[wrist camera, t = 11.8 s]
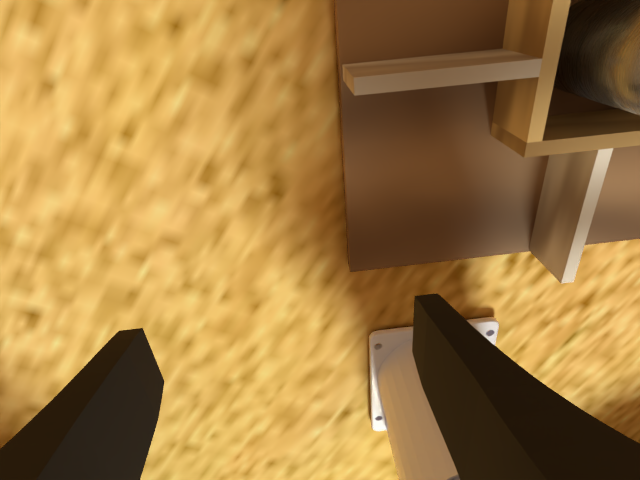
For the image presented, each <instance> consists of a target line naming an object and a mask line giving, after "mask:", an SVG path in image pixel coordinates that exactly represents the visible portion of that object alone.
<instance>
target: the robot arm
mask: <svg viewBox="0 0 640 480" xmlns="http://www.w3.org/2000/svg"><path fill="white" fill-rule="evenodd" d="M498 328H499V323H498V321H497V320H496V319H495V318H494V317H486V318H478V319H470V320H465V319H464V318H463V317H462V316H461V315H460V314H459V313H458V312H457V311H456V310H455V309H454V308H453V307H452V306H451V305H449V304H448V303H447V302H446V301H445V300H444V299H443V298H442V297H441V296H440V295H439V294H429V295H420V296H415V302H414V322H413V326H411V327H403V328H395V329H386V330H378V331H374V332H372V333H371V334H370V336H369V356H370V396H371V425H372V429H373V430H375V431H383V430H387V432H388V437H389V441H390V445H391V449H392V453H393V457H394V461H395V465H396V469H397V473H398V477H399V480H640V444H639V443H637V442H635V441H634V440H632V439H630V438H628V437H626V436H625V435H623V434H621V433H620V432H618V431H616V430H615V429H613V428H611V427H609V426H608V425H606V424H604V423H603V422H601V421H599V420H598V419H596V418H594V417H593V416H591V415H589V414H588V413H586V412H585V411H583V410H581V409H580V408H578V407H577V406H575V405H574V404H572V403H571V402H569V401H568V400H566V399H565V398H563V397H562V396H560V395H559V394H557V393H556V392H554V391H553V390H552V389H550V388H549V387H547V386H546V385H544V384H543V383H542V382H540V381H539V380H537V379H536V378H535V377H533V376H532V375H531V374H529V373H528V372H527V371H526V370H524V369H523V368H522V367H520V366H519V365H518V364H517V363H515V362H514V361H513V360H512V359H510V358H509V357H508V356H507V355H505V354H504V353H503V352H502V351H501V350H499V349H498V348H497V347H496V346H495V343H496V338H497V333H498ZM489 330H490V331H489ZM487 331H488V332H487ZM378 343H379V345H376V344H378ZM163 386H164V380H163V377H162V375H161V372H160V370H159V367H158V365H157V362H156V360H155V358H154V355H153V353H152V350H151V348H150V345H149V343H148V340H147V338H146V335H145V333H144V331H143V328H140V329H131V330H123V331H119V332H118V333H116V334H115V335H114V336H113V337H112V338H111V339H110V340H109V341H108V343H107V344H106V345H105V346H104V347H103V348H102V349H101V350H100V351H99V352H98V353H97V354H96V355H95V356H94V357H93V358H92V359H91V360H90V361H89V363H88V364H87V365H86V366H85V367H84V368H83V369H82V370H81V371H80V372H79V373H78V374H77V375H76V376H75V377H74V378H73V379H72V380H71V381H70V382H69V383H68V384H67V385H66V386H65V387H64V388H63V390H62V391H61V392H60V393H59V394H58V395H57V396H56V397H55V398H54V399H53V400H52V401H51V402H50V403H49V404H48V405H46V406H45V407H44V408H43V409H42V410H41V411H40V412H39V413H38V414H37V415H36V416H35V417H34V418H33V419H32V420H31V421H30V422H29V423H28V424H27V425H26V426H25V427H24V428H23V429H21V430H20V431H19V432H18V433H17V434H16V435H15V436H14V437H13V438H12V439H11V440H10V441H9V442H8V443H6V444H5V445H4V446H3V447H2V448H1V449H0V480H140V478H141V474H142V471H143V468H144V465H145V461H146V458H147V455H148V451H149V448H150V445H151V441H152V438H153V435H154V431H155V428H156V424H157V421H158V416H159V411H160V405H161V399H162V393H163Z"/></svg>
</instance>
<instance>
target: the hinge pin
mask: <svg viewBox="0 0 640 480" xmlns="http://www.w3.org/2000/svg"><path fill="white" fill-rule="evenodd" d="M553 86H554V87H555V88H557V89H559V90H562V91H565V92H568V93H571V94H574V95H577V96H580V97H584V98H587V99H590V100H593V101H596V102H599V103H602V104H606V105H609V106H612V107H615V108H618V109H621V110H624V111H628V112H631V113H634V114H637V115H640V0H581V1H579V2H577V3H575V4H574V5H572V6H571V7H570V8H569V12H568V17H567V21H566V26H565V31H564V36H563V41H562V46H561V51H560V56H559V61H558V66H557V71H556V75H555V80H554V85H553Z"/></svg>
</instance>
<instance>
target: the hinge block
mask: <svg viewBox="0 0 640 480" xmlns="http://www.w3.org/2000/svg"><path fill="white" fill-rule="evenodd" d="M579 1H581V0H334V7H335V25H336V44H337V62H338V81H339V99H340V118H341V137H342V155H343V174H344V192H345V211H346V229H347V248H348V264H349V268H350V272H354V271H363V270H371V269H380V268H389V267H397V266H406V265H415V264H423V263H432V262H441V261H449V260H458V259H467V258H476V257H484V256H493V255H502V254H510V253H519V252H528V251H530V252H531V253H532V254H533V255H534V256H535V257H536V258H537V259H538V260H539V261H540V262H541V263H542V264H543V265H544V266H545V267H546V268H547V269H548V270H549V271H550V272H551V273H552V274H553V275H554V276H555V277H556V278H557V279H558V280H559V282H560V283H568V282H574V279H575V275H576V272H577V269H578V265H579V262H580V259H581V255H582V252H583V248H584V245H588V244H597V243H606V242H615V241H623V240H632V239H640V115H637V114H634V113H631V112H628V111H624V110H621V109H618V108H615V107H612V106H609V105H606V104H602V103H599V102H596V101H593V100H590V99H587V98H584V97H580V96H577V95H574V94H571V93H568V92H565V91H562V90H559V89H557V88H555V87H554V86H553V85H554V80H555V75H556V71H557V66H558V61H559V56H560V51H561V46H562V41H563V36H564V31H565V26H566V21H567V17H568V12H569V8H570V7H571V6H572V5H574V4H575V3H577V2H579Z"/></svg>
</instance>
